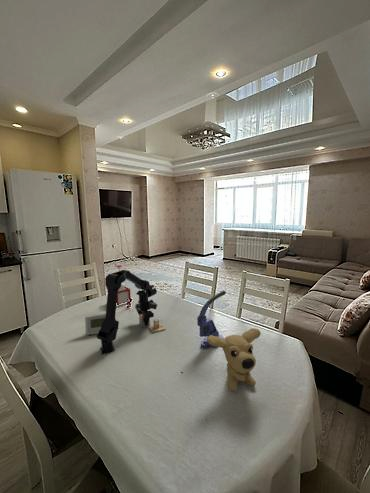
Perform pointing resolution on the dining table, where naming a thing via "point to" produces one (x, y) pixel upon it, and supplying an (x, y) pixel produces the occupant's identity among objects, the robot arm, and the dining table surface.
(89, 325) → the digital clock
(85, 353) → the dining table surface
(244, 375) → the toy
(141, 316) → the grey-topped salmon cube
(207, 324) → the hand press
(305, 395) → the dining table surface
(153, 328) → the tan piece
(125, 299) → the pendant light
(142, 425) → the dining table surface
